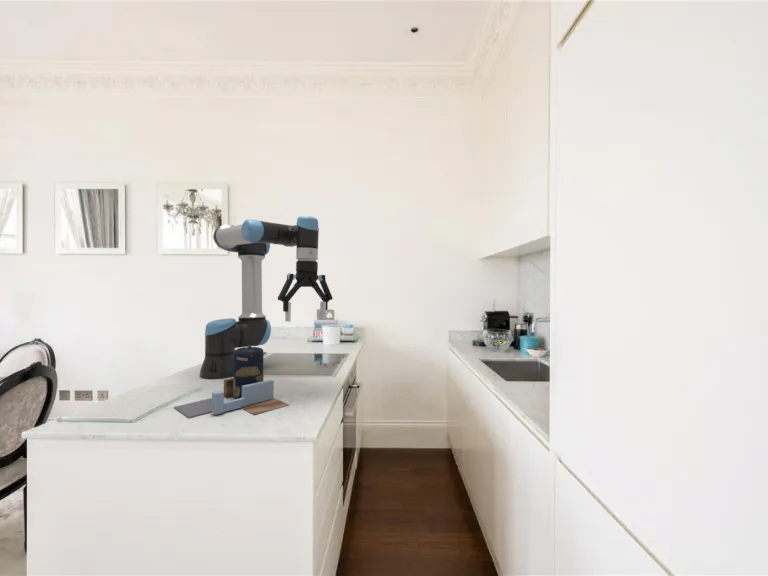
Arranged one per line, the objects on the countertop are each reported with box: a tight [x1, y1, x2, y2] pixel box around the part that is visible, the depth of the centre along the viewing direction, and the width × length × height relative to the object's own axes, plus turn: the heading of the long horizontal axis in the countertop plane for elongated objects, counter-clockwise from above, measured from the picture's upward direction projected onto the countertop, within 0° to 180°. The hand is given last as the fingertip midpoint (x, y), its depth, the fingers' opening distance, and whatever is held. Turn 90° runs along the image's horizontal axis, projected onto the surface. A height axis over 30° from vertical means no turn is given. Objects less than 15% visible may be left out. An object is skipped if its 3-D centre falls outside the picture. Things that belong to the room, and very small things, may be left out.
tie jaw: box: [211, 379, 275, 416], centre depth 107 cm, size 3×19×6 cm, turn 139°
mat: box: [173, 397, 213, 419], centre depth 106 cm, size 12×12×1 cm
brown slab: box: [223, 377, 290, 416], centre depth 113 cm, size 23×12×6 cm, turn 49°
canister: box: [232, 346, 265, 400], centre depth 115 cm, size 10×10×18 cm
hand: (305, 320), depth 121 cm, fingers open, 13 cm apart
